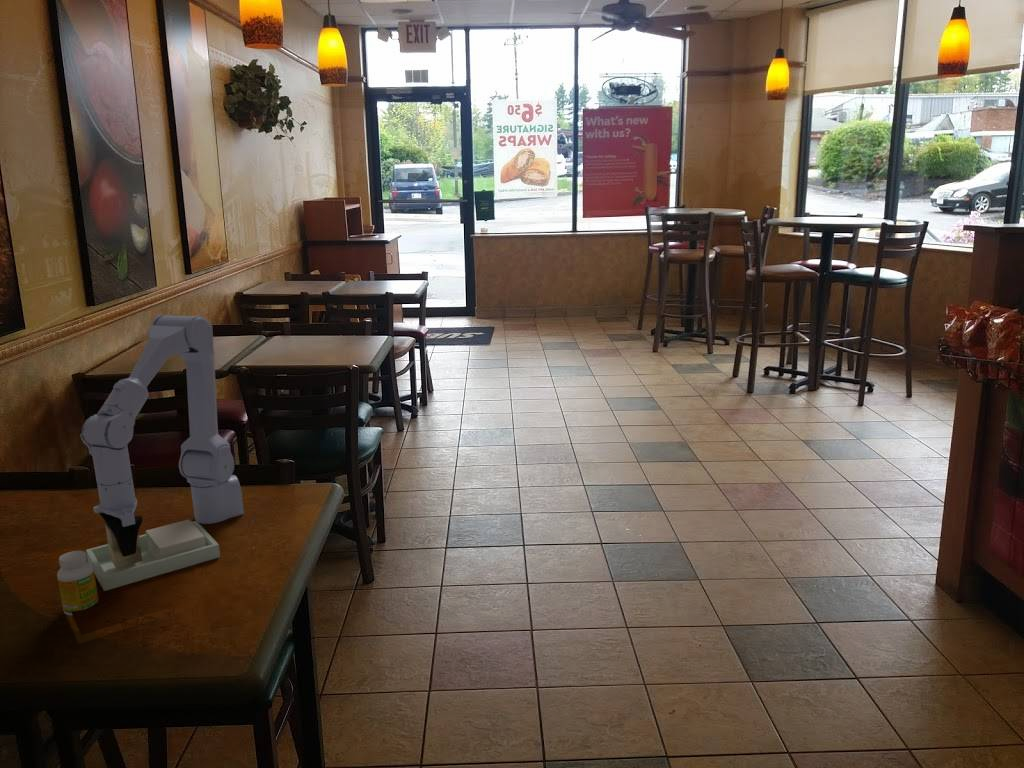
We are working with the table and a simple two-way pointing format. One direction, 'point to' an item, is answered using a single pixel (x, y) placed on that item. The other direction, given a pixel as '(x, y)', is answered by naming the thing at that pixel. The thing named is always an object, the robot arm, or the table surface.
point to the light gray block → (174, 539)
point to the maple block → (116, 553)
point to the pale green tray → (147, 562)
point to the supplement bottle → (76, 582)
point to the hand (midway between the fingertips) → (125, 549)
